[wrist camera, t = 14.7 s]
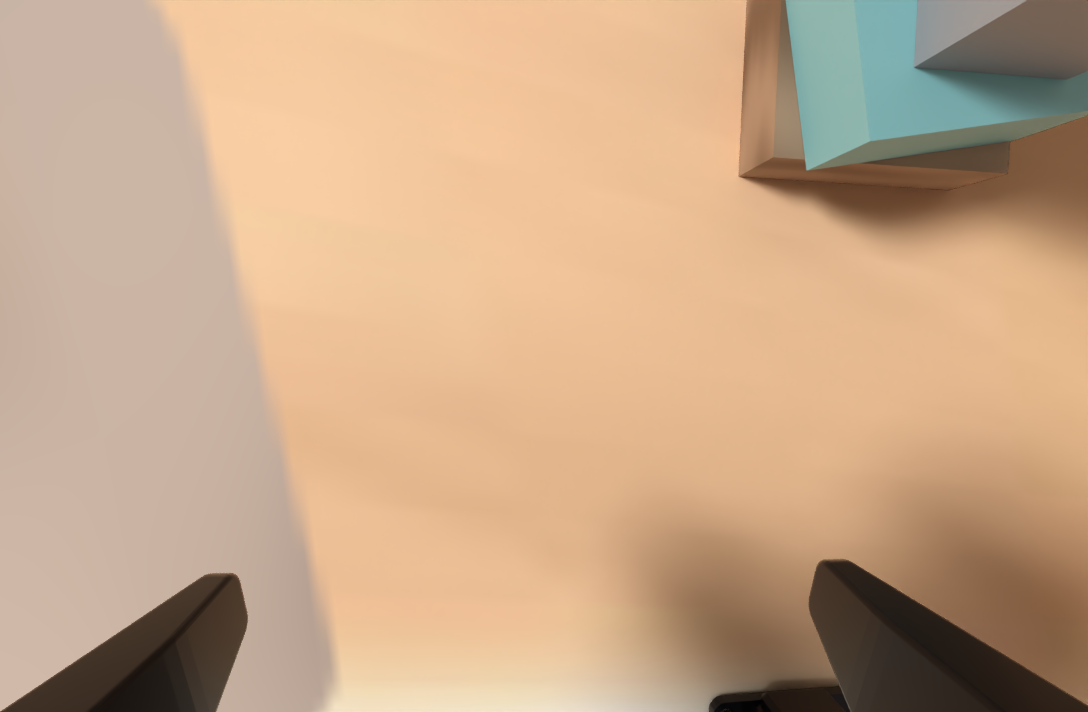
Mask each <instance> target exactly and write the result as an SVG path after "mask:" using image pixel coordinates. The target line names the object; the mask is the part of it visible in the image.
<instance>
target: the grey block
mask: <svg viewBox="0 0 1088 712" xmlns="http://www.w3.org/2000/svg"><path fill="white" fill-rule="evenodd" d="M914 67H916V68H928V69H941V70H953V71H966V72H978V73H991V74H1003V75H1016V76H1028V77H1040V78H1053V79H1065V80H1067V79H1069V78H1072V77H1074V76H1077V75H1079V74H1081V73H1084V72H1086V71H1088V0H917V19H916V37H915V56H914Z"/></svg>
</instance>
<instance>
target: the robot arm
mask: <svg viewBox="0 0 1088 712" xmlns="http://www.w3.org/2000/svg"><path fill="white" fill-rule="evenodd" d="M809 610H810V614H811V617H812V620H813V622H814V625H815V627H816V629H817V632H818V634H819V637H820V639H821V642H822V644H823V646H824V649H825V651H826V654H827V656H828V659H829V661H830V663H831V666H832V668H833V671H834V673H835V676H836V678H837V681H838V683H839V685H840V687H830V688H810V689H796V690H783V691H770V692H764V693H751V694H737V695H724V696H718V697H716V698H715V699H713V700H712V702H711V703H710V706H709V712H721V711H722V710H723V709H726V711H725V712H1088V705H1086V704H1084V703H1083V702H1081V701H1079V700H1078V699H1076V698H1075V697H1073V696H1071V695H1070V694H1068V693H1066V692H1065V691H1063V690H1061V689H1060V688H1058V687H1056V686H1055V685H1053V684H1052V683H1050V682H1048V681H1047V680H1045V679H1043V678H1042V677H1040V676H1038V675H1037V674H1035V673H1033V672H1032V671H1030V670H1028V669H1027V668H1025V667H1024V666H1022V665H1020V664H1019V663H1017V662H1015V661H1014V660H1012V659H1010V658H1009V657H1007V656H1005V655H1004V654H1002V653H1000V652H999V651H997V650H996V649H994V648H992V647H991V646H989V645H987V644H986V643H984V642H982V641H981V640H979V639H977V638H976V637H974V636H972V635H971V634H969V633H968V632H966V631H964V630H963V629H961V628H959V627H958V626H956V625H954V624H953V623H951V622H949V621H948V620H946V619H945V618H943V617H941V616H940V615H938V614H936V613H935V612H933V611H931V610H930V609H928V608H926V607H925V606H923V605H921V604H920V603H918V602H917V601H915V600H913V599H912V598H910V597H908V596H907V595H905V594H903V593H902V592H900V591H898V590H897V589H895V588H893V587H892V586H890V585H889V584H887V583H885V582H884V581H882V580H880V579H879V578H877V577H875V576H874V575H872V574H870V573H869V572H867V571H865V570H864V569H862V568H861V567H859V566H857V565H856V564H854V563H852V562H850V561H848V560H845V559H828V560H822V561H820V562H819V563H818V565H817V567H816V571H815V575H814V579H813V584H812V588H811V592H810V596H809ZM247 622H248V615H247V609H246V605H245V601H244V596H243V592H242V588H241V583H240V580H239V578H238V576H237V575H236V574H233V573H213V574H207V575H204V576H203V577H201V578H200V579H198V580H196V581H195V582H193V583H192V584H190V585H189V586H188V587H186V588H185V589H183V590H181V591H180V592H179V593H177V594H175V595H174V596H172V597H171V598H170V599H168V600H167V601H165V602H163V603H162V604H160V605H159V606H158V607H156V608H155V609H153V610H152V611H150V612H149V613H147V614H146V615H144V616H143V617H141V618H140V619H138V620H137V621H135V622H134V623H132V624H131V625H129V626H128V627H126V628H125V629H123V630H122V631H120V632H119V633H117V634H116V635H114V636H113V637H111V638H110V639H108V640H107V641H105V642H104V643H103V644H101V645H99V646H98V647H96V648H95V649H93V650H92V651H91V652H89V653H87V654H86V655H84V656H83V657H81V658H80V659H78V660H77V661H75V662H74V663H73V664H71V665H69V666H68V667H66V668H65V669H63V670H62V671H60V672H59V673H57V674H56V675H54V676H53V677H51V678H50V679H48V680H47V681H45V682H44V683H42V684H41V685H39V686H38V687H36V688H35V689H33V690H32V691H30V692H29V693H27V694H26V695H24V696H23V697H21V698H20V699H18V700H17V701H15V702H14V703H12V704H11V705H9V706H8V707H6V708H5V709H3V710H2V711H0V712H216V711H217V708H218V705H219V703H220V700H221V697H222V695H223V692H224V689H225V686H226V684H227V681H228V678H229V675H230V673H231V670H232V667H233V664H234V662H235V659H236V656H237V654H238V651H239V648H240V645H241V643H242V640H243V637H244V635H245V632H246V628H247Z"/></svg>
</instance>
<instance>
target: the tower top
mask: <svg viewBox="0 0 1088 712" xmlns="http://www.w3.org/2000/svg"><path fill="white" fill-rule="evenodd" d="M786 8H787V16H788V24H789V32H790V40H791V48H792V57H793V65H794V73H795V81H796V89H797V97H798V105H799V113H800V122H801V130H802V138H803V146H804V154H805V162H806V170H807V171H808V170H815V169H822V168H829V167H836V166H843V165H850V164H857V163H864V162H870V161H877V160H884V159H891V158H898V157H905V156H912V155H919V154H926V153H933V152H940V151H947V150H954V149H961V148H968V147H974V146H981V145H988V144H995V143H1002V142H1009V141H1014V140H1017V139H1020V138H1023V137H1026V136H1029V135H1032V134H1035V133H1038V132H1041V131H1044V130H1047V129H1050V128H1053V127H1055V126H1058V125H1061V124H1064V123H1067V122H1070V121H1073V120H1076V119H1079V118H1082V117H1085V116H1088V71H1086V72H1084V73H1081V74H1079V75H1077V76H1074V77H1072V78H1069V79H1067V80H1065V79H1053V78H1040V77H1028V76H1016V75H1003V74H991V73H978V72H966V71H953V70H941V69H928V68H916V67H914V56H915V37H916V19H917V0H786Z"/></svg>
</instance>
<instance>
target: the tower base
mask: <svg viewBox="0 0 1088 712" xmlns="http://www.w3.org/2000/svg"><path fill="white" fill-rule="evenodd" d="M1009 151H1010V141H1009V142H1002V143H995V144H988V145H981V146H974V147H968V148H961V149H954V150H947V151H940V152H933V153H926V154H919V155H912V156H905V157H898V158H891V159H884V160H877V161H870V162H864V163H857V164H850V165H843V166H836V167H829V168H822V169H815V170H808V171H807V170H806V162H805V154H804V146H803V138H802V130H801V122H800V113H799V105H798V97H797V89H796V81H795V73H794V65H793V57H792V48H791V40H790V32H789V24H788V16H787V8H786V0H747V7H746V28H745V49H744V71H743V92H742V113H741V135H740V156H739V176H740V177H755V178H771V179H786V180H801V181H817V182H832V183H848V184H863V185H879V186H894V187H909V188H925V189H940V190H951V189H955V188H958V187H962V186H966V185H969V184H973V183H976V182H980V181H984V180H987V179H991V178H994V177H998V176H1001V175H1005V174H1008V163H1009Z"/></svg>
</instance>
